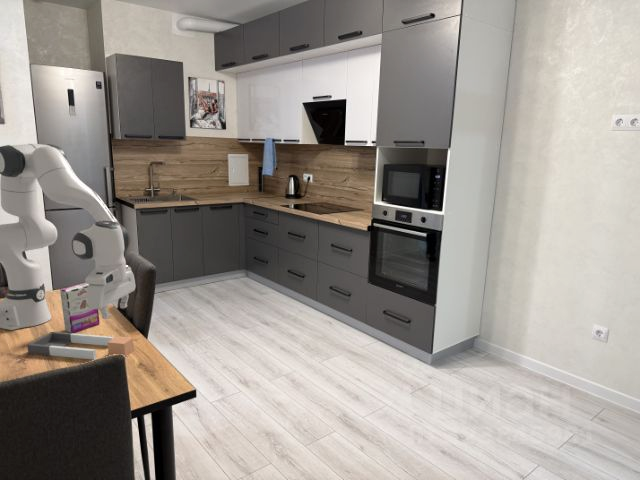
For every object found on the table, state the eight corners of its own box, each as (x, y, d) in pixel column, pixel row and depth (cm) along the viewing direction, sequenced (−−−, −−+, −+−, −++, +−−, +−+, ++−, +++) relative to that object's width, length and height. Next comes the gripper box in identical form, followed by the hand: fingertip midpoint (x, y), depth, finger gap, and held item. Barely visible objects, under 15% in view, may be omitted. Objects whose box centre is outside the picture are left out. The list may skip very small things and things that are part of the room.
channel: (49, 355, 147) (48, 346, 146) (73, 341, 158) (72, 333, 157) (94, 359, 145) (93, 350, 144) (114, 345, 155) (114, 337, 155)
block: (108, 356, 147) (107, 342, 146) (117, 349, 152) (116, 336, 151) (125, 358, 146) (124, 343, 145) (134, 351, 151) (133, 337, 150)
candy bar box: (92, 321, 176) (88, 281, 172) (100, 324, 173) (96, 283, 170) (63, 331, 166) (59, 288, 163) (71, 334, 164) (66, 291, 160)
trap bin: (28, 353, 148) (27, 344, 148) (52, 339, 159) (52, 331, 158) (49, 355, 147) (48, 346, 146) (73, 341, 158) (72, 333, 157)
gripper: (121, 263, 154) (125, 301, 157) (81, 280, 134) (85, 323, 137) (138, 264, 153) (141, 302, 156) (100, 281, 133) (104, 325, 136)
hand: (115, 312), depth 146 cm, fingers open, 8 cm apart
